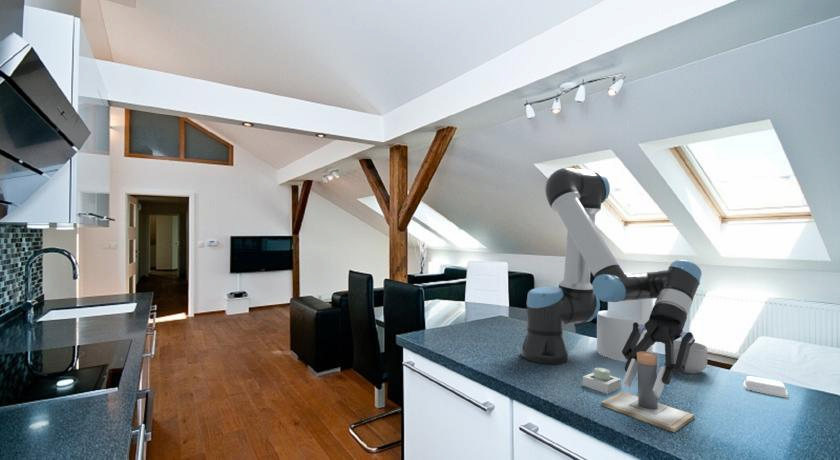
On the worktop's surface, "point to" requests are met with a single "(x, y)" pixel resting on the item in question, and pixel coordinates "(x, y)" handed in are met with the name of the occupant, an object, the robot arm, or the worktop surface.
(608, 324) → the cylinder
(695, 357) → the teacup
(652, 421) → the wooden picture frame
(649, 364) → the marker
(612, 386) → the button housing
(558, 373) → the worktop surface
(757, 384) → the soap
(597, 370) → the button
